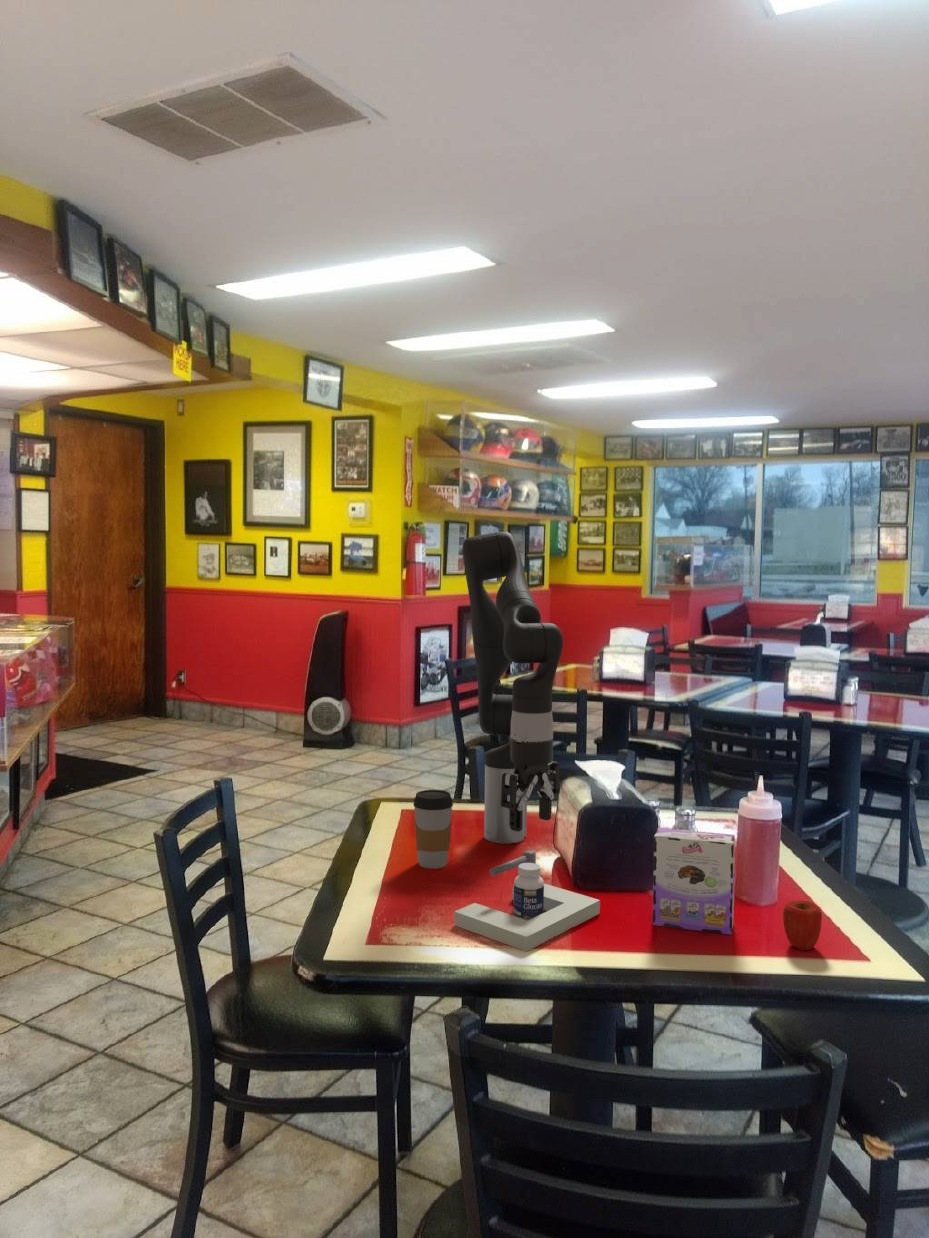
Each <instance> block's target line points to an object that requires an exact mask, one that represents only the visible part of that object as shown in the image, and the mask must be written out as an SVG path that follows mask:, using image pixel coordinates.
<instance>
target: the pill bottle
mask: <svg viewBox="0 0 929 1238" xmlns="http://www.w3.org/2000/svg"><path fill="white" fill-rule="evenodd" d="M517 872H518V873H517V874H518V875H517V876H516V877H515V878H514V881H513V886H514V900H513V907H512V908H513V912H512V916H515V917H518V918H521V919H524V920H527V921H528V920H530V919H532V918H534V917H536V916H538V915H540V914H543V913H544V910H543V907H544V884H545V882H544V879H543V878H542V877H541V876H540V875H541V865H539V864H538V863H536V864H535V863H522V864H519V866H518V867H517Z"/></svg>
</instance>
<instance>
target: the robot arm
mask: <svg viewBox="0 0 929 1238" xmlns="http://www.w3.org/2000/svg"><path fill="white" fill-rule="evenodd" d="M462 560H463V568H464V572H465V579H466V585H467V592H468V596H469V597H468V598H469V603H470V617H471V618H470V619H471V634H472V644H473V652H474V658H475V659H474V660H475V668H476V675H477V676H476V677H477V699H478V700H477V701H478V702H477V704H478V706H477V707H478V720H479V721H478V722H479V727H480V729H481V731H482V733H484V734H486V735H491V736H507V737H508V736H510V741H508V742H507V743H505V744H503V745H501V746H498V747H495V748H491V749H489V750H488V751H486V752H485V755H484V824H483V825H484V826H483V828H484V831H483V832H484V833H483V834H484V835H483V836H484V839H485V840H486V841H488V842H489V843H495V844H507V845H508V844H509V845H510V844H514V843H520V842H522V841H524V839H525V837H527V836H528V834H527V829H528V828H527V827H528V826H527V825H528V821H527V820H528V816H527V815H528V800H529V798H530V797H531V794H534V793H537V794H538V796H539V797H540V798H538V800H539V801H538V806H539V807H538V818H539V819H540V820H544V821H550V820H551V819H552V802H553V800H554V798H555V796H556V795H559V794H560V792H561V789H560V788H561V785H560V784H561V783H560V762H558V761H553V760H554V757H553V755H554V753H553V752H554V717H553V688H554V687H553V686H554V682H555V678H556V673H557V670H558V665H559V662H560V659H561V657H562V652H563V649H564V637H563V633H562V631H561V629H560V628H559V626H558V625H556V624H554V623H552V622H551V623H550V622H541V621H542V617H541V612H540V610H539V608H538V605H537V604H536V603H537V602H536V601H535V600H534V597H533V595H532V593H531V591H530V588H529V585H528V578H527V576H526V571H525V568H524V564H523V561H522V557H521V554H520V549H519V547H518V543H517V542H516V540H515V538H514V536H513V535H512V534H511V533H510V532H508V531H496V532H490V533H485V534H479V535H474V536H469V537H467V538H466V539H465V540H464V541H463V545H462ZM499 578H504V579H503V581H502V582H501V584H500V586H499V587H498V589H497V592H496V593H497V594H496V596H495V601H494V599H493V598H492V597H491V596H490V594H489V593H488V592H487V589H486V588H485V587H484V582H485V581H488V580H494V579H499ZM512 663H514V664H538V666H537V668H536V669H535V670H534V671H533V672H532V673H529V674H526V675H522V676H519V677H516V678H515V679H514V680H513V683H512V691H511V692H512V693H511V694H495V693H494V690H495V687H496V685H497V683H498V682H499V681H500V679H501V677H503V675H504V674H505V673H506V672H507V670H508V669H509V667H510V666H511V664H512ZM552 782H553V785H552Z"/></svg>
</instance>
